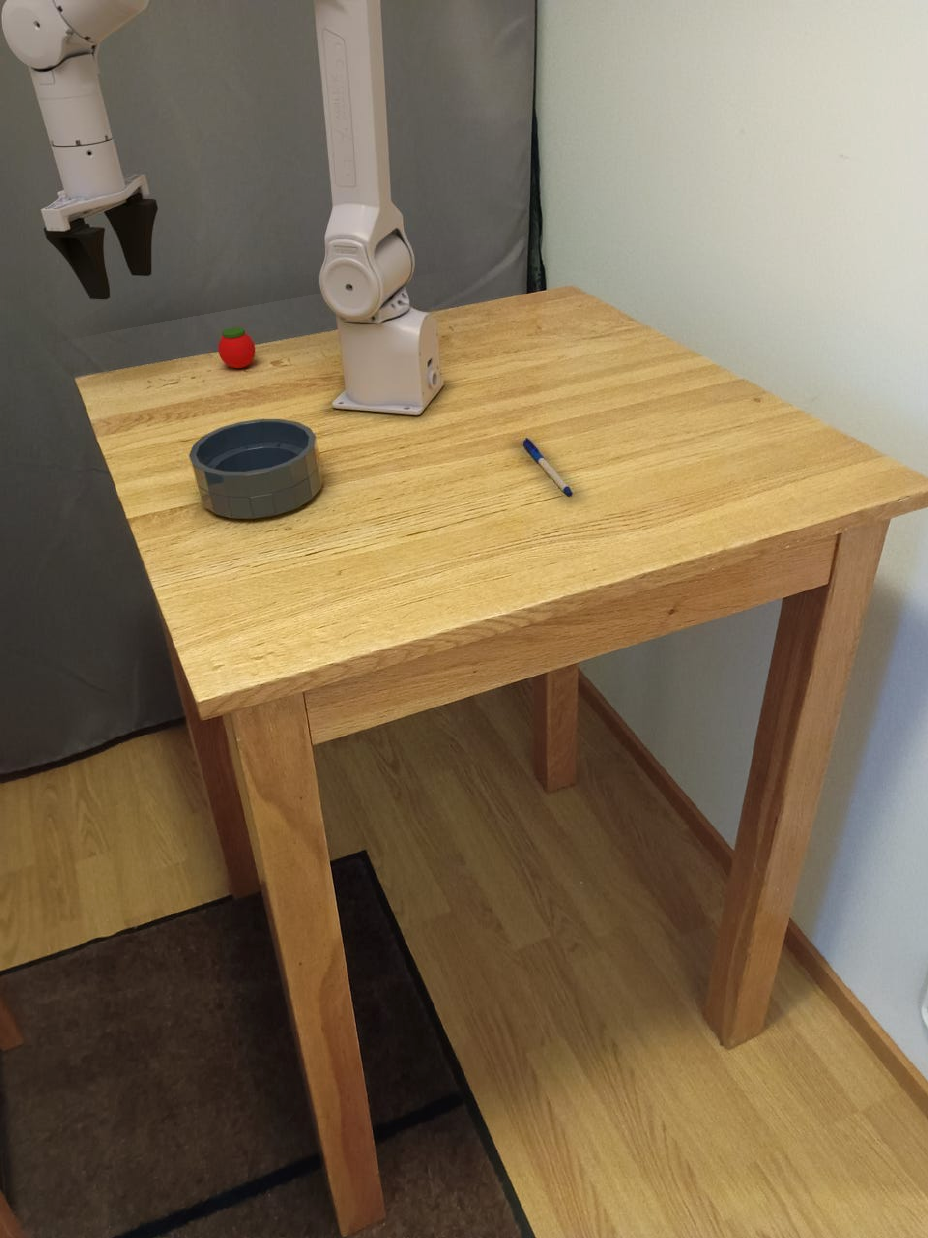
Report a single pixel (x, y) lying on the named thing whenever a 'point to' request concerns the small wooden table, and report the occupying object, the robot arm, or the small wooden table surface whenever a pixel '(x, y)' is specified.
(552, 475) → the ballpoint pen
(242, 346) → the tomato
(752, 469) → the small wooden table surface
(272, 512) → the dessert bowl
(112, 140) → the robot arm
